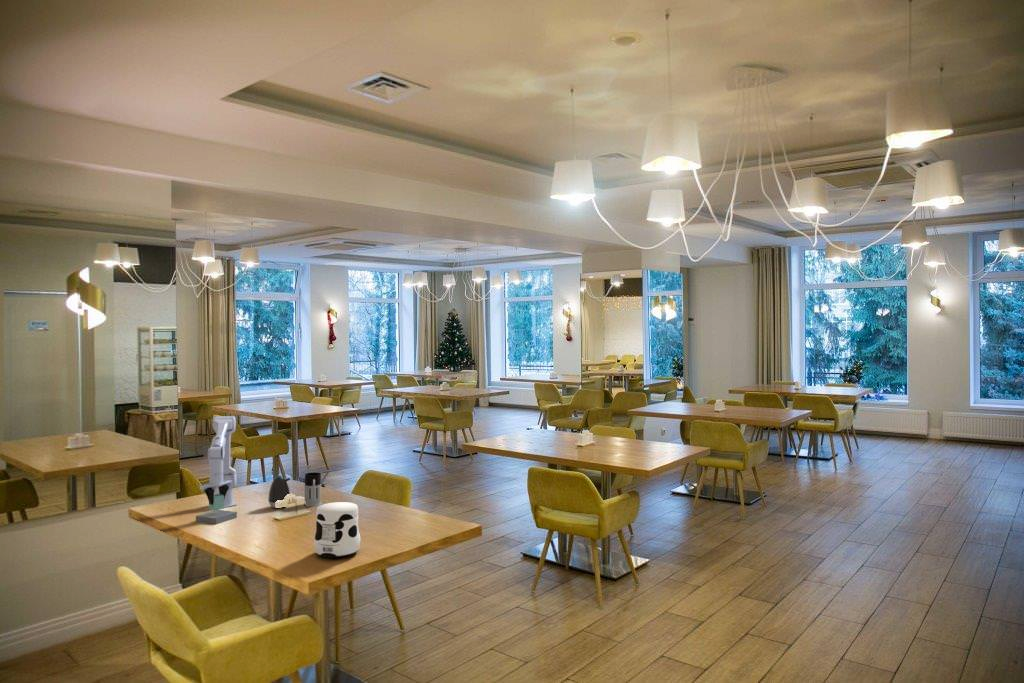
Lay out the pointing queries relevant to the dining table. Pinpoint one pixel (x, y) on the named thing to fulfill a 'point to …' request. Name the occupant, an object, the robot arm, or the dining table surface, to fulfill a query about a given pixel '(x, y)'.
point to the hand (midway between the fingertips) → (216, 503)
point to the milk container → (337, 530)
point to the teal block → (217, 502)
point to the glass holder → (313, 489)
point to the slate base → (216, 516)
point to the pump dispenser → (278, 490)
